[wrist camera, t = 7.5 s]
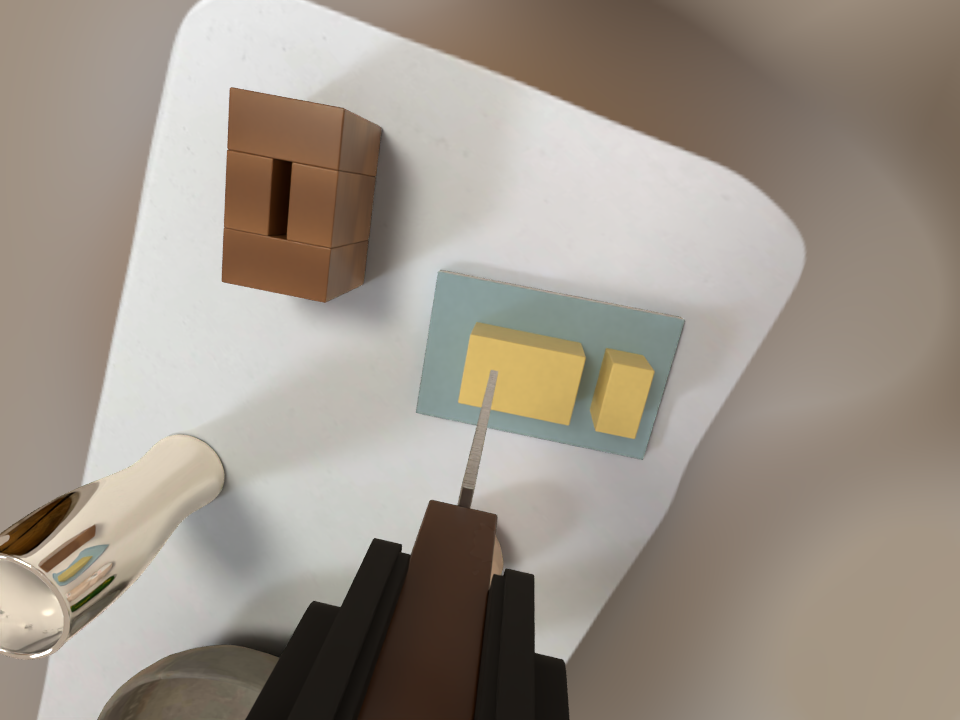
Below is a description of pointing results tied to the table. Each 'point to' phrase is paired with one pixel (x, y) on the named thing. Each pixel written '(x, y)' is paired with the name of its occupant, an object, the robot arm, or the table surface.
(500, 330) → the butter
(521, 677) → the robot arm
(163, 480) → the beer glass
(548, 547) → the table surface
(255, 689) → the bowl
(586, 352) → the butter dish
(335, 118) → the knife block
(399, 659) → the knife
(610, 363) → the butter slice
